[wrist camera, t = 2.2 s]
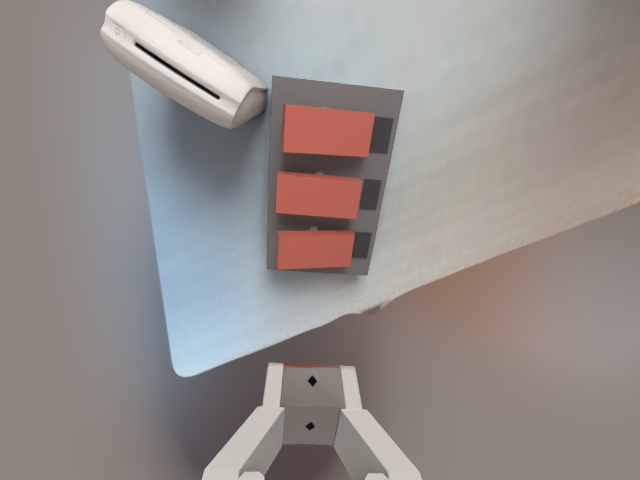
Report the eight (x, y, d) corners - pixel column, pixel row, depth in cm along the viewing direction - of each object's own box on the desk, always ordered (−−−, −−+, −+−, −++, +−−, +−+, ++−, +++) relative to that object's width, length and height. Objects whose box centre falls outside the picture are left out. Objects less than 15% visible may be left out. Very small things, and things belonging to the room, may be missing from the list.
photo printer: (161, 64, 29) (74, 48, 18) (178, 20, 28) (94, -28, 17) (255, 126, 32) (229, 143, 21) (275, 88, 31) (258, 86, 20)
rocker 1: (369, 112, 28) (375, 113, 27) (362, 154, 30) (367, 157, 28) (283, 103, 26) (285, 104, 25) (281, 149, 28) (283, 152, 26)
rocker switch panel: (392, 91, 31) (405, 90, 27) (361, 259, 40) (368, 278, 36) (276, 77, 30) (271, 75, 26) (270, 252, 39) (266, 271, 35)
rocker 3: (350, 230, 33) (354, 235, 32) (345, 260, 35) (349, 266, 34) (277, 230, 31) (279, 236, 30) (276, 262, 33) (277, 269, 32)
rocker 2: (359, 178, 30) (362, 182, 29) (354, 214, 32) (356, 219, 30) (278, 170, 29) (277, 174, 28) (277, 207, 31) (275, 212, 30)
